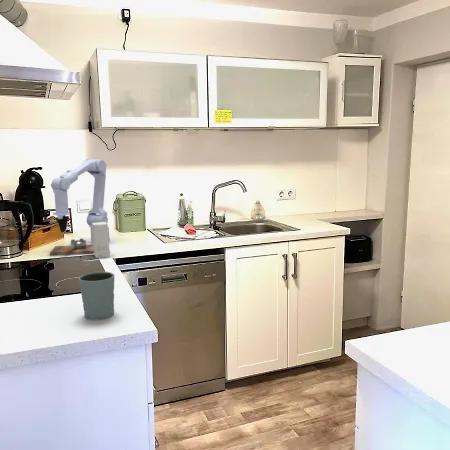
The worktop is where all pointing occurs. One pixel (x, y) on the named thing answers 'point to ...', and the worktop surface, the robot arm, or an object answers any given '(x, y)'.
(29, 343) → the worktop surface
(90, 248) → the walnut board
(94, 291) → the grey-green cup
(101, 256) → the skincare box
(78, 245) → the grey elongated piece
